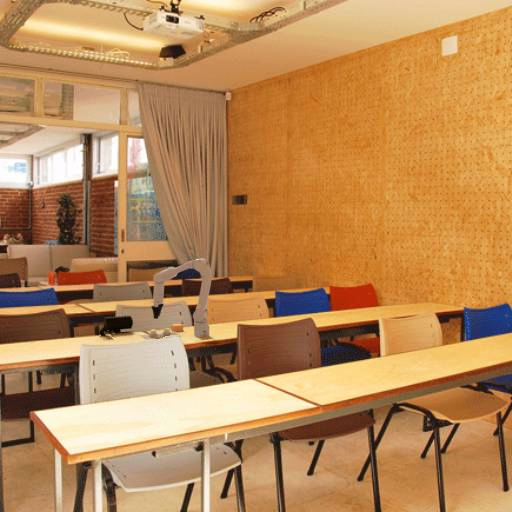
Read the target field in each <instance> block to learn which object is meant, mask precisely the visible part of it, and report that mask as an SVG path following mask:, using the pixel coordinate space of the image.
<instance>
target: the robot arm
mask: <svg viewBox="0 0 512 512" xmlns="http://www.w3.org/2000/svg"><path fill="white" fill-rule="evenodd" d="M188 269H192V270H195V271H197V272H198V273H199V274H200V275H201V276H202V280H201V286H200V291H199V295H198V301H197V306H196V307H195V311H193V315H192V319H193V320H194V321H193V333H194V334H193V335H194V336H195V337H199V338H203V337H204V338H205V337H210V325H209V324H208V318H207V317H208V316H209V311H208V301H209V295H210V290H211V286H212V285H211V284H212V278H213V272H212V268H211V266H210V262H209V261H208V260H207V259H206V258H204V257H200V258H197V259H194V260H189V261H187V262H185V263H182V264H180V265H179V266H177V267H174V266H168V267H167V268H166V269H164V270H163V269H162V270H160V272H156V273H155V274H154V275H153V278H152V279H153V283H154V285H153V295H152V300H150V303H153V305H151V307H150V308H151V309H152V314H153V315H152V316H153V319H156V320H158V319H159V317H160V316H161V312H162V309H163V307H164V304H165V303H164V294H165V293H164V292H165V282H166V281H168V280H170V279H173V278H175V277H177V275H178V273H181V272H184V271H186V270H188Z"/></svg>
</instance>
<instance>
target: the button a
mask: <svg viewBox="0 0 512 512" xmlns="http://www.w3.org/2000/svg"><path fill="white" fill-rule="evenodd" d="M163 332H165V333H169V332H171V328H168V327H167V328H163Z"/></svg>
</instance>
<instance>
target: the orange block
mask: <svg viewBox="0 0 512 512" xmlns="http://www.w3.org/2000/svg"><path fill="white" fill-rule="evenodd" d="M170 331H172V332H174V333H176V332H183V331H184V324H182V323H173V324H172V323H171V326H170Z"/></svg>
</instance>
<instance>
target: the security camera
mask: <svg viewBox="0 0 512 512" xmlns="http://www.w3.org/2000/svg"><path fill="white" fill-rule="evenodd" d="M133 326H134V320H133V318H132V316H131V315H121V316H120V315H119V316H118V315H117V316H106V317H103V327H101V329H100V330H99V336H101V337H106V336H107V335H106V334H107V333H111V332H112V333H113V334H118V333H121V332H122V331H121V330H131V329H132V327H133Z"/></svg>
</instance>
